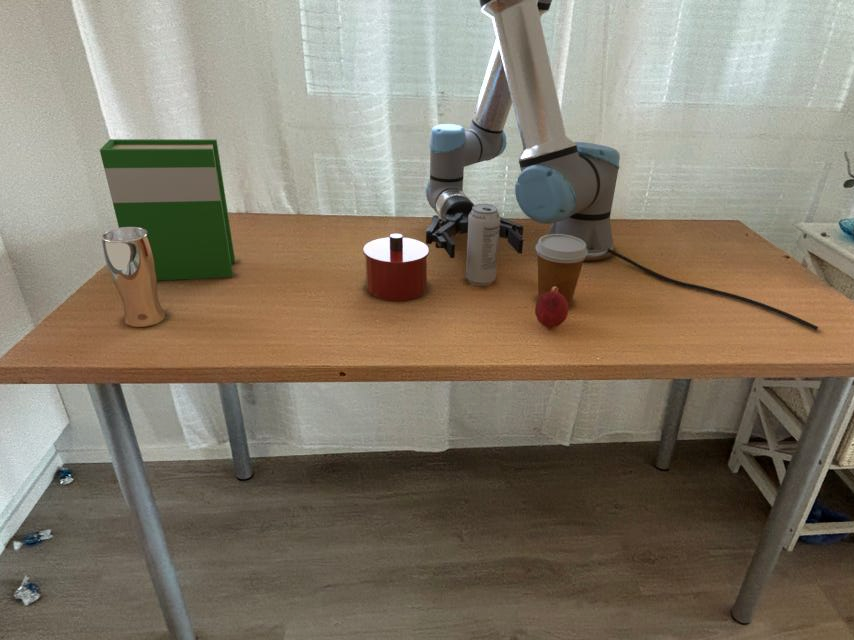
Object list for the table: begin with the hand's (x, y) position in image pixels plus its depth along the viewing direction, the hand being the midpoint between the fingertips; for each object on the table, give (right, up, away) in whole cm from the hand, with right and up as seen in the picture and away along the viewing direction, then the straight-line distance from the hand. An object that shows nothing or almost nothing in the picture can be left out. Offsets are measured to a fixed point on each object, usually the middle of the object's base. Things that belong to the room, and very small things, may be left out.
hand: (487, 249), depth 122 cm
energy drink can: (-1, -5, +7) cm, 9 cm away
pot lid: (-17, -1, -2) cm, 17 cm away
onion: (+11, -16, -8) cm, 21 cm away
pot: (-17, -7, +2) cm, 19 cm away
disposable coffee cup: (+13, -10, +1) cm, 16 cm away
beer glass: (-58, -14, -14) cm, 61 cm away
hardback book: (-58, -4, +3) cm, 59 cm away
